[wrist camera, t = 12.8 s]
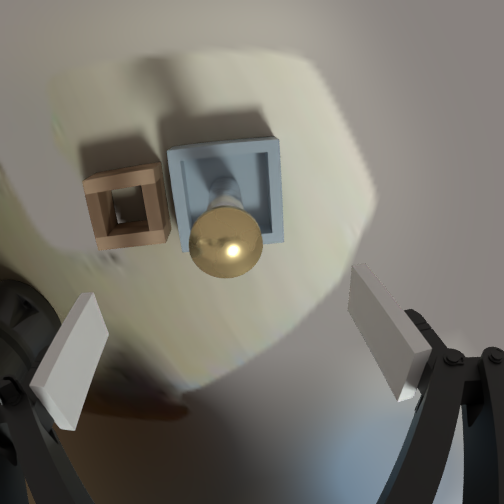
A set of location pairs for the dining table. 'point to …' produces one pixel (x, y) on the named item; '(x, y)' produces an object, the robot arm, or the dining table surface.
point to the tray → (237, 167)
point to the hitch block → (104, 211)
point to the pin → (225, 233)
